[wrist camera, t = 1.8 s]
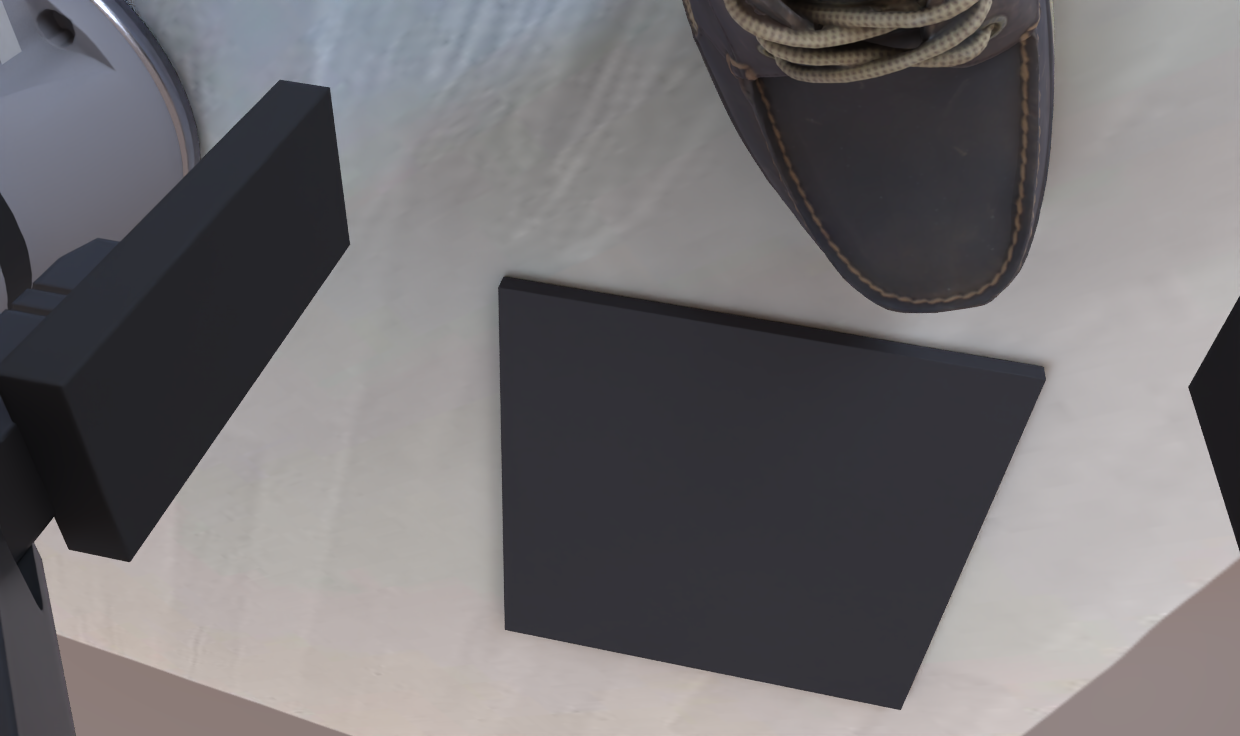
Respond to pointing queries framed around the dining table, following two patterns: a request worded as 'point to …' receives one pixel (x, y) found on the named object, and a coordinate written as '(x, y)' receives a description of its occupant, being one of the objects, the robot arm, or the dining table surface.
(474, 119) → the dining table surface
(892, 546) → the boot mat
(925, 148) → the boat shoe
